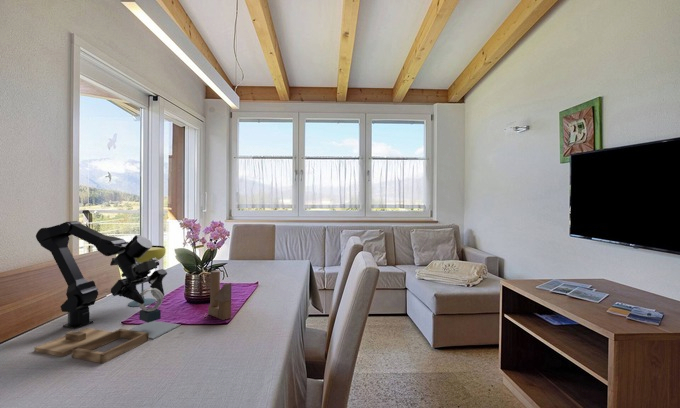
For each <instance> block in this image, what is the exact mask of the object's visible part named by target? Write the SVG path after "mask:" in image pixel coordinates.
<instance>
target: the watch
mask: <svg viewBox="0 0 680 408" xmlns="http://www.w3.org/2000/svg"><path fill="white" fill-rule="evenodd" d="M148 292H150V293H151V295H152V296H153V298H154V299H156V302H155V304H154V306H151V307H148V308H147V307H146V306H144V304H140V303H138V305H139V308H140V309H141V310H139V316H138V317H139V318H138V319H139V320H140V321H142V322H144V323H146V322H148V323H149V322H152V321H158V320H160V319H161V313H162V310H161V309H158V308H160V306H161V305H162V303H163V301H164V297H165V295H164V296H163V294H162V293H161V291H160V290H158V289H157V288H151V287H147V288H145V289H143V291H142V292H139V293H140V295H141V296H142V298H143V296H144V297H145V295H146V294H147V293H148Z"/></svg>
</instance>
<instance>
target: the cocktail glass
mask: <svg viewBox="0 0 680 408" xmlns="http://www.w3.org/2000/svg"><path fill="white" fill-rule="evenodd" d="M166 252H167V251H166V247H165V246H163V245H152V247H151V248H150V249H149V250H148V251H147V252H146V253H145V254H144V255H143V256H142V257H141V258H136V259H137V261H138V262H139V263H141V262H142V263H143V262H146V261H149V260H150V259H152V258H156V259H157V260H158V261H159V260H161V259H162V258H164V257H165V255H166ZM118 255H119V254H117V256H118ZM140 291H141V292H142V291H144V283H142V284H141V290H140ZM141 292H140V293H141ZM143 300H144V303H143V304H144V306H145V307H146V306H149V305H153V304H154V303H155V304H156V303H157V299H156V298H145V295H144V296H143ZM127 305H128V306H129V307H133V308H134V307H135V308H137V307H139V305H138V302H136V301H134V300H131V301H130V302H128V303H127ZM139 308H140V307H139Z"/></svg>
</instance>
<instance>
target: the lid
mask: <svg viewBox="0 0 680 408" xmlns="http://www.w3.org/2000/svg"><path fill="white" fill-rule="evenodd" d="M112 332H113V331H109V330H103V329H97V328H90V327H85V328H82V329H80V330H77V331H76V330H71V331H68V332H66V333H65V335H63V336H61V337H58V338H56V339H53V340H51V341H47V342H45V343H42V344H39V345H37V346H35V347H33V348H34V352H37V353H41V354H47V355H53V356H56V357H62V358H63V357H66V356H68V355H70V354H72V349H73V348H76V347H78V346H80V345H83V344H85V343H88V342H90V341H92V340H95V339H97V338H100V337H102V336H104V335H107V334H109V333H112Z"/></svg>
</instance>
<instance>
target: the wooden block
mask: <svg viewBox="0 0 680 408" xmlns="http://www.w3.org/2000/svg"><path fill="white" fill-rule="evenodd" d="M209 284H210V290H209V291H210V293H209V294H210V295H209V297H210V299H209V300H210V303H209V306H207V307H208V308H207V310H208V311H207V314H208V315H209V316H212V317H214V318H216V319H219V320H221V319H222V321H226V320H229V319H231V318H232V282H230V283H224V284H223V285H222V287H221V286H220V285H221V271H220V270H211V271H210V283H209ZM220 287H221V288H220ZM225 319H226V320H225Z"/></svg>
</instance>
